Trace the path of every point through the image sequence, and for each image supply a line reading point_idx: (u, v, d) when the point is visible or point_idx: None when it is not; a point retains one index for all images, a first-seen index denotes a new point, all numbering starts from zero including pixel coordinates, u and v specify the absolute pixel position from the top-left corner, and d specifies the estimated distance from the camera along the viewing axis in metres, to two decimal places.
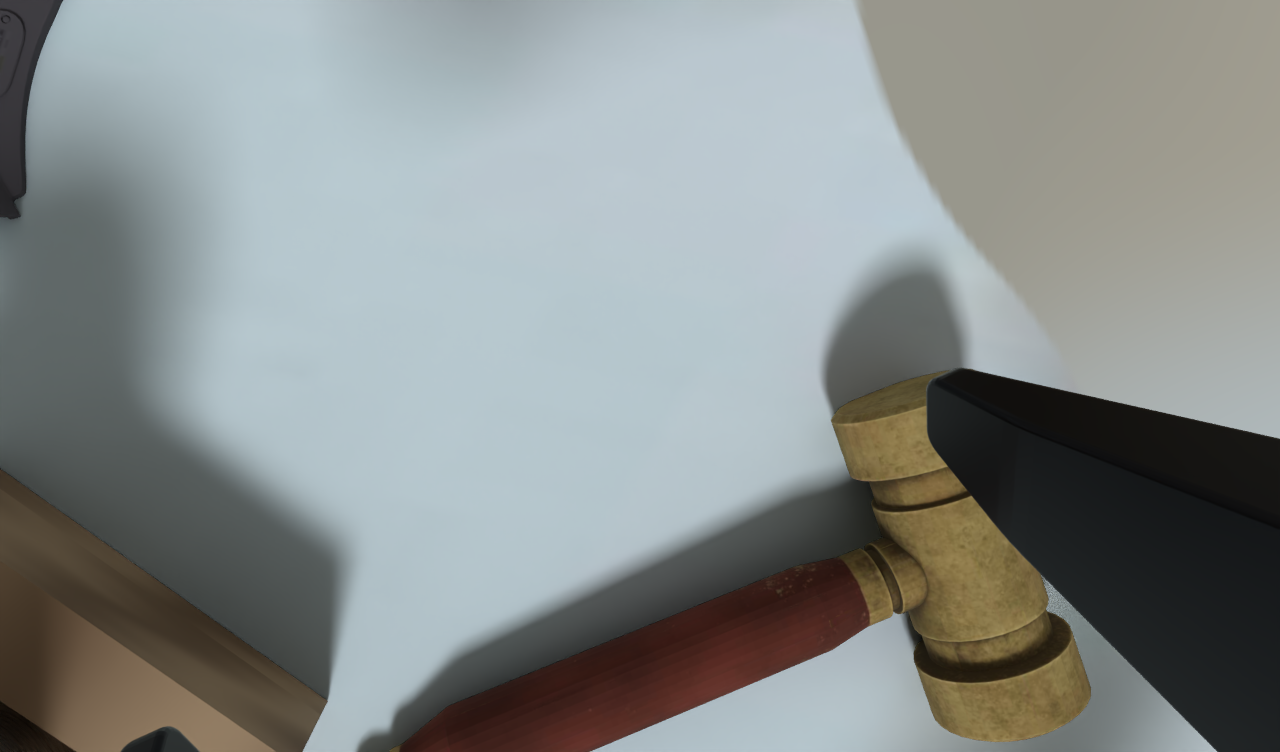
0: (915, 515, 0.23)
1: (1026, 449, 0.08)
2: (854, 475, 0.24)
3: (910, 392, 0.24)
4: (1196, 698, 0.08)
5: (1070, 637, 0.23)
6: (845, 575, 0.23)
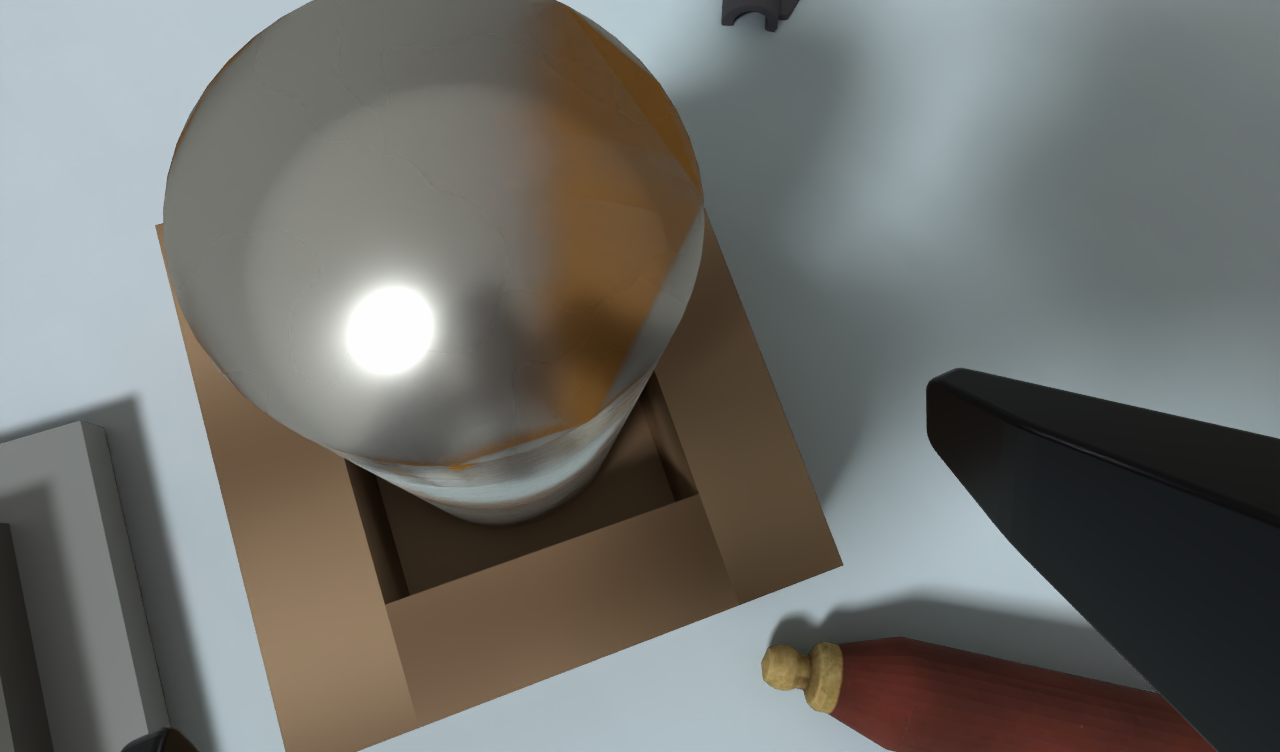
0: None
1: (1026, 449, 0.08)
2: None
3: None
4: (1196, 698, 0.08)
5: None
6: None
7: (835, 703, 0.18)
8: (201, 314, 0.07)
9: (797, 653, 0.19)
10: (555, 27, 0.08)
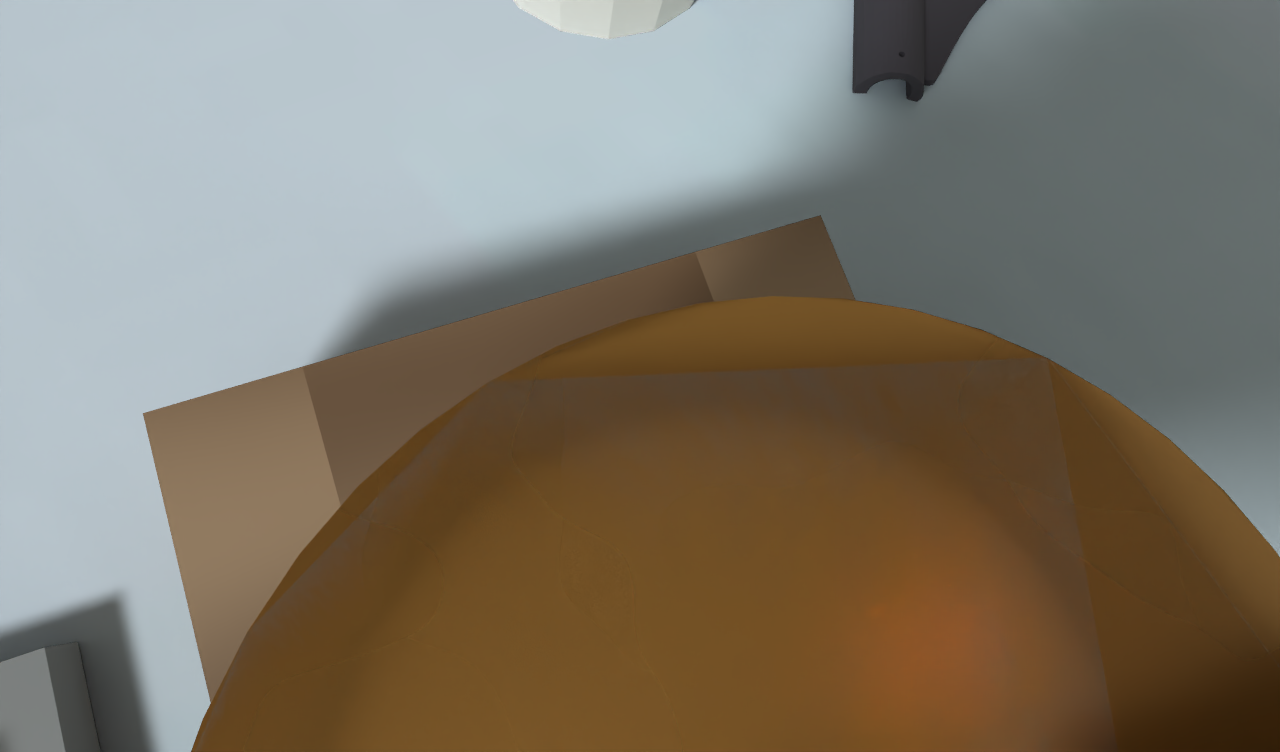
0: None
1: None
2: None
3: None
4: None
5: None
6: None
7: None
8: None
9: None
10: (1036, 418, 0.04)
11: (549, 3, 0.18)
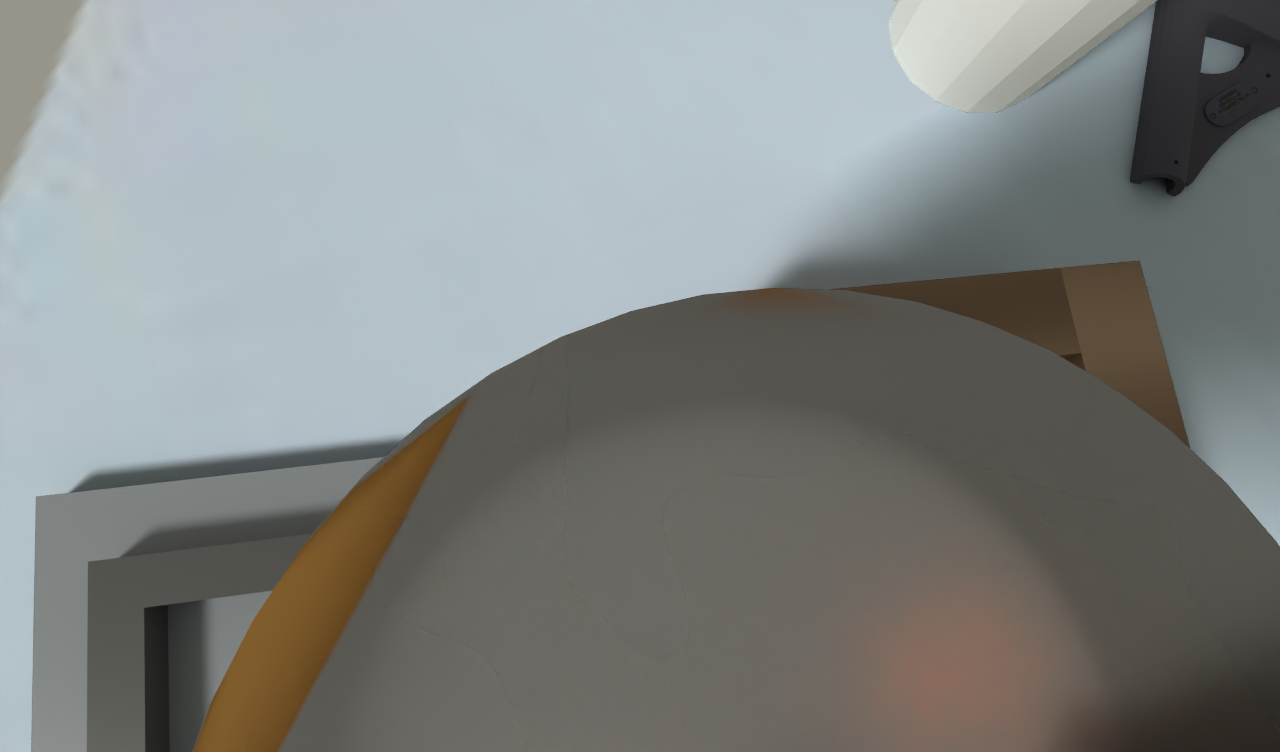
0: None
1: None
2: None
3: None
4: None
5: None
6: None
7: None
8: None
9: None
10: (1039, 410, 0.04)
11: (939, 82, 0.26)
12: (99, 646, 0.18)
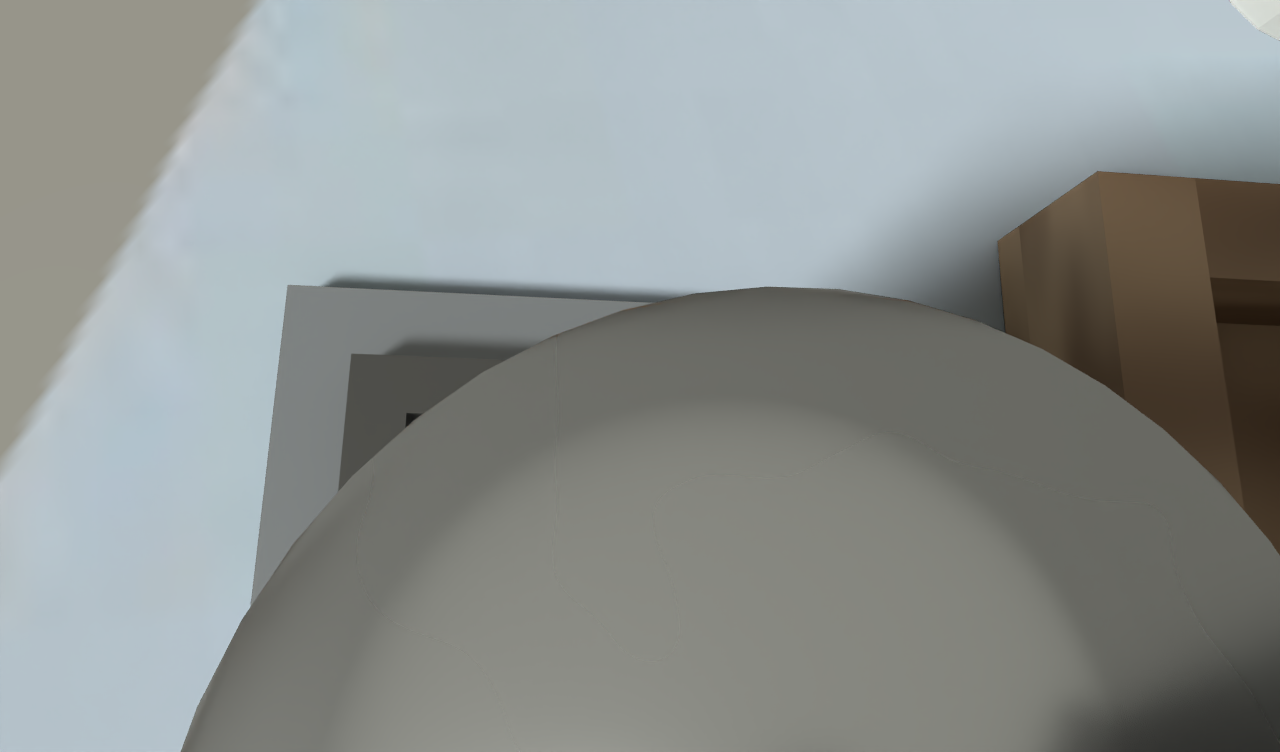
0: None
1: None
2: None
3: None
4: None
5: None
6: None
7: None
8: None
9: None
10: (1031, 409, 0.04)
11: (1273, 5, 0.23)
12: (355, 446, 0.16)
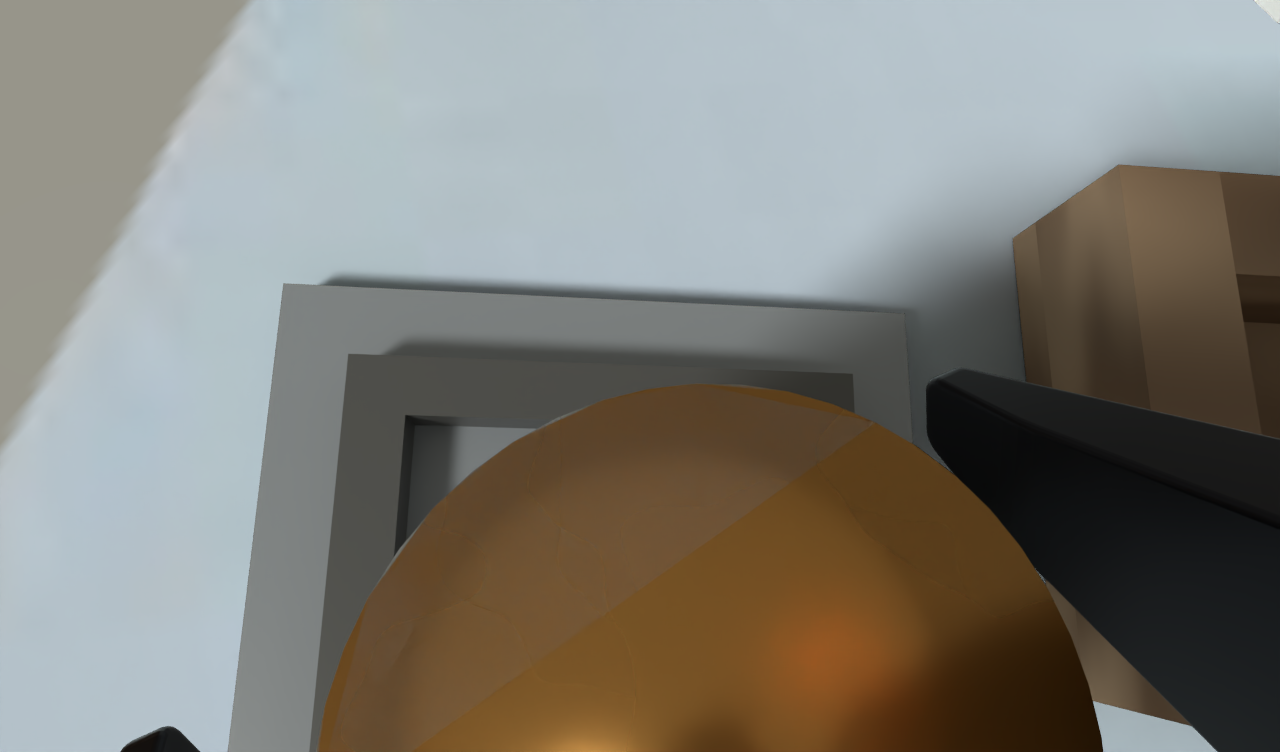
0: None
1: (1026, 449, 0.08)
2: None
3: None
4: (1196, 698, 0.08)
5: None
6: None
7: None
8: None
9: None
10: (866, 462, 0.06)
11: None
12: (352, 449, 0.16)
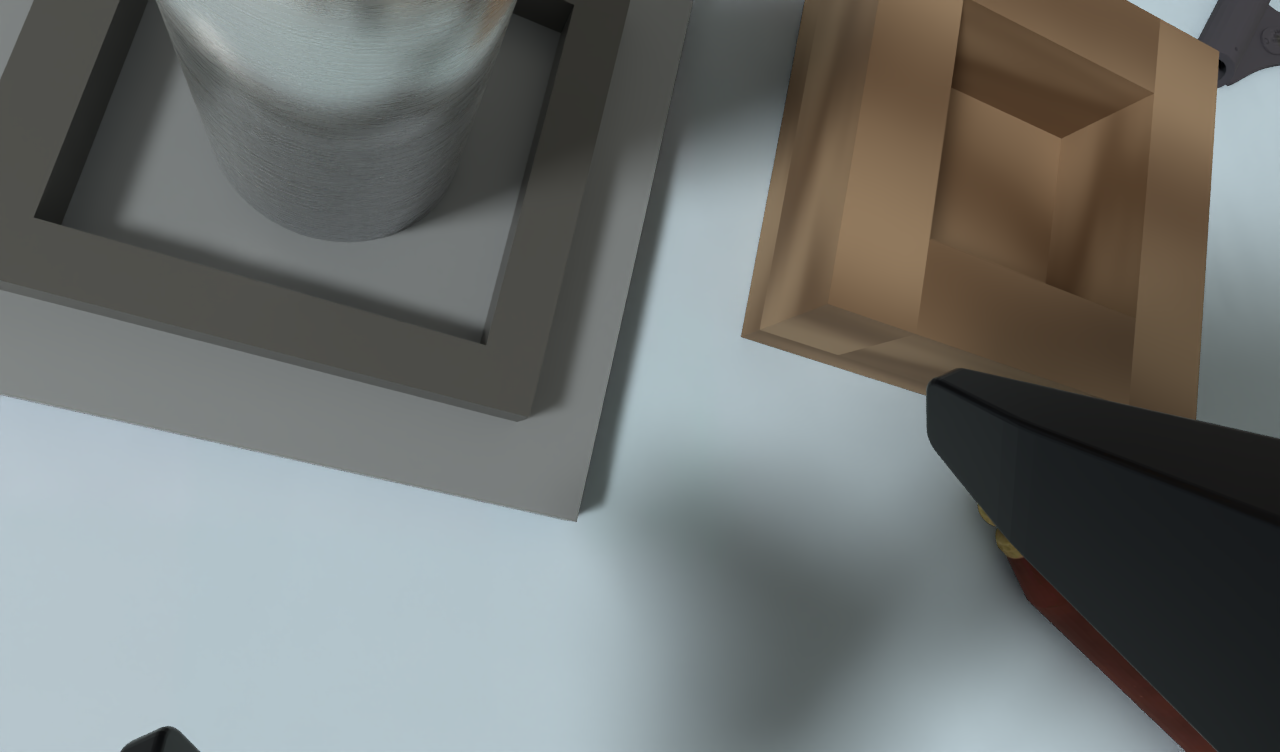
0: None
1: (1026, 449, 0.08)
2: None
3: None
4: (1196, 698, 0.08)
5: None
6: None
7: None
8: None
9: None
10: None
11: None
12: None
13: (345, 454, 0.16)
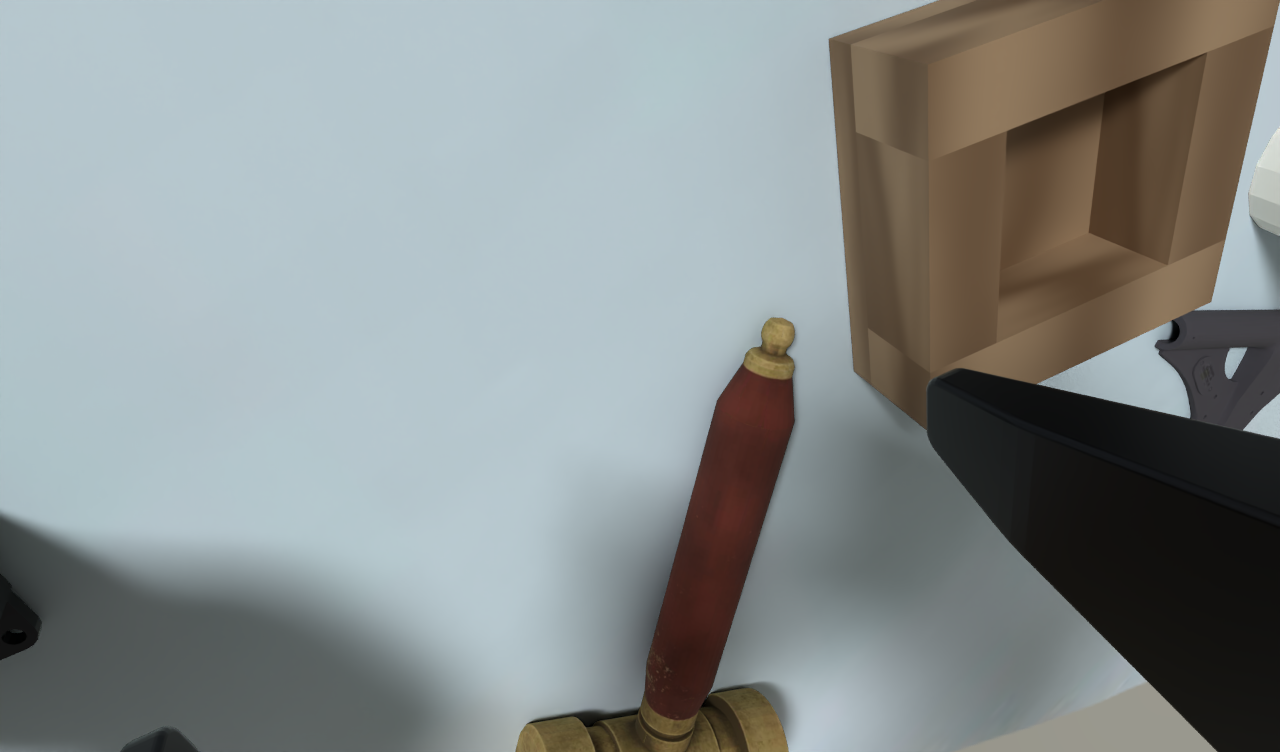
0: None
1: (1026, 449, 0.08)
2: (736, 710, 0.32)
3: None
4: (1196, 698, 0.08)
5: None
6: (701, 705, 0.30)
7: (765, 376, 0.25)
8: None
9: None
10: None
11: None
12: None
13: None
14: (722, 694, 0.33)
